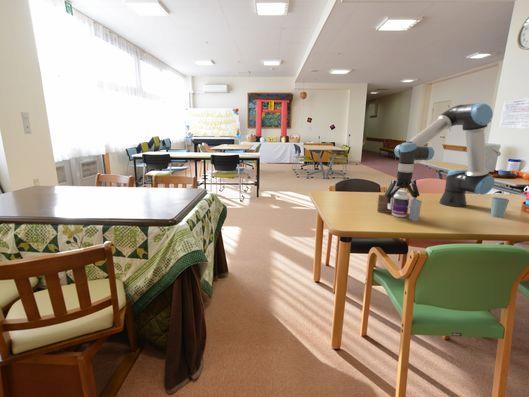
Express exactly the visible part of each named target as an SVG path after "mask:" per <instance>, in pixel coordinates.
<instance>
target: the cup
mask: <svg viewBox="0 0 529 397" xmlns="http://www.w3.org/2000/svg"><path fill="white" fill-rule="evenodd" d="M509 202H510V199H508V198H505V197H504V198H503V197H496V196H495V197H494V196H493V197H491V210H490V216H491V217H494V218H498V219H499V218H501V219H502V218H504V216H505V215H504V214H505V213H506V210H507V207H508V204H509Z"/></svg>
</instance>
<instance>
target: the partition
mask: <svg viewBox="0 0 529 397" xmlns="http://www.w3.org/2000/svg"><path fill="white" fill-rule="evenodd" d="M396 194H397V192H396V193H395V194H394V195H396ZM422 202H423V201H422V200H421V199H417V198H416V199H412V200H411V207H410V208H409V216H408V219H409V220H411V221H413V222H419V220H420V216H421V215H420V214H421V206H422Z"/></svg>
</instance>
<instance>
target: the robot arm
mask: <svg viewBox="0 0 529 397" xmlns="http://www.w3.org/2000/svg"><path fill="white" fill-rule="evenodd" d="M493 116H494V114H493V108H492V107H491V106H490V105H489V104H487V103H479V102H477V103H468V104H458V105H454V106H453V107H451V108H449V109H447V110H445V111H444V112H443V113H441V114H440V115H438V116H437V118H436V120H434V121H433V122H432V123H430V124H429V125H428V126H426V127H425V128H424V129H423V130H422V131H420V132H419V133H417V134H416V135H414V136H413V137H412V138H411V139H409V140H408V141H406V142H403V143H401V144H398V145H396V147H395V148H394V152H393V153H394V155H395V156H396V157H397V158H398V159H399V160H398V167H397V173H396V174H397V175H396V179H391V182H390V184H389V186H388V188H387V190H386V191H385V193H384V194H383V195H384V196H386V197H387V203H388V207H387V208H388V209H390V210H391V208H392V200H393V198H391V197H392V196H393V195H394V194H395V193H397V191H398V190H401V189H406V190H408V193H409V194H410V195H411V196H409V205H408V209H410V207H411V200H412V199H417V198H418V197H419V196H420V192H419V189H418V185H417V180H416V179H412V178H413V171H414V166H415V161H430V160H432V159H433V158H434V156H435V150H434V148H433V147H431V146H428V145H427V146H425V145H426V144H427V143H429V142H430V141H432V140H433V139H434V138H435V137H437V136H438V135H439V134H441V133H443V131H446V130H448V129H450V128H452V127H455V126H462V131H464V132H465V138H466V140H465V141H466V142H465V143H466V158H467V169H450V170H448V172H447V175H446V179H445V186H444V191H443V193H442V196H441V197H440V198H439V204H442V205H445V206H448V207H454V208H455V207H456V208H464V207H467V203H468V202H467V199H466V192H468V193H473V194H476V195H486V194H488V193H490V191H492V189H493V188H494V186H495V178H494V177H493V176H491V175H490V170H489V169H487V168H486V146H485V145H486V142H485V141H486V140H485V129H487V127H488V125H489V124H490V123H491V121H492V119H493Z"/></svg>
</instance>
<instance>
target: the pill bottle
mask: <svg viewBox="0 0 529 397" xmlns="http://www.w3.org/2000/svg"><path fill="white" fill-rule="evenodd" d="M396 193H397V194H396V195H394V199H393V207H392V212H391V215H392V216H393V217H396V218H406V217H407V216H408V212H409V211H408V210H409V203H410V196H409V195H408V193H409V191H407V190H402V189H399V190H398V191H397V192H396Z"/></svg>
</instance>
